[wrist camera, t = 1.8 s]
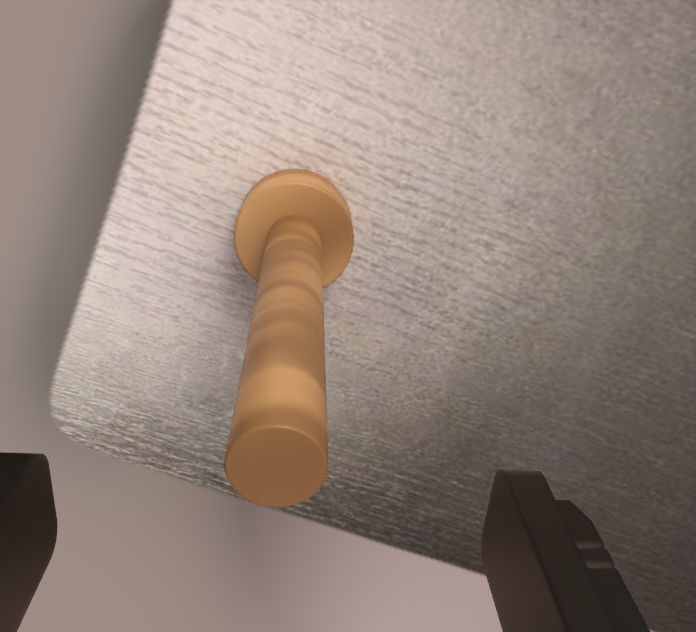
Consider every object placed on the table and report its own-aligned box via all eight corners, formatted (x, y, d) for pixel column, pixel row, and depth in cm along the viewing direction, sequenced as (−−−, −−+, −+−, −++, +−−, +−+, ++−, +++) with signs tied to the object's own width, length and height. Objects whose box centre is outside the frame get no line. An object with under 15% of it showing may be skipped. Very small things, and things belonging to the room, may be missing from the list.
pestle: (215, 219, 26) (110, 463, 13) (299, 144, 25) (281, 324, 11) (292, 295, 28) (272, 585, 14) (373, 228, 26) (435, 473, 13)
